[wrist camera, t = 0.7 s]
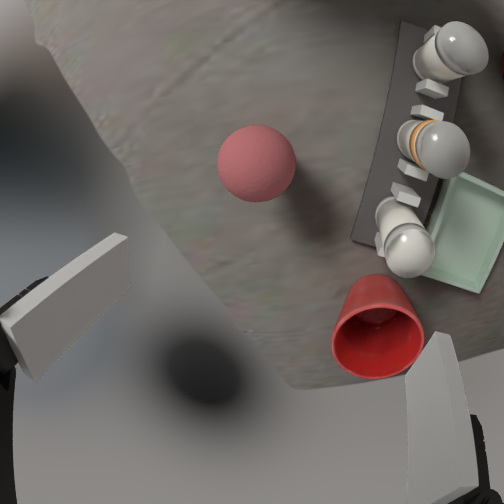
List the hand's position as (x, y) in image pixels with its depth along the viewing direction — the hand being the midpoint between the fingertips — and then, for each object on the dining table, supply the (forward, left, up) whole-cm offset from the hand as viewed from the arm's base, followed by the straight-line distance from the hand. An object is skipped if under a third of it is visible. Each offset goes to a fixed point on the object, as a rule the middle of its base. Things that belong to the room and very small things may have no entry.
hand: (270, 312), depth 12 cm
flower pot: (+13, +11, -27) cm, 32 cm away
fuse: (+1, +9, -25) cm, 27 cm away
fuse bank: (-8, +9, -26) cm, 29 cm away
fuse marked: (-8, +9, -25) cm, 28 cm away
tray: (0, +19, -26) cm, 32 cm away
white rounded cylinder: (-17, +9, -25) cm, 32 cm away
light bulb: (-2, -6, -27) cm, 27 cm away
